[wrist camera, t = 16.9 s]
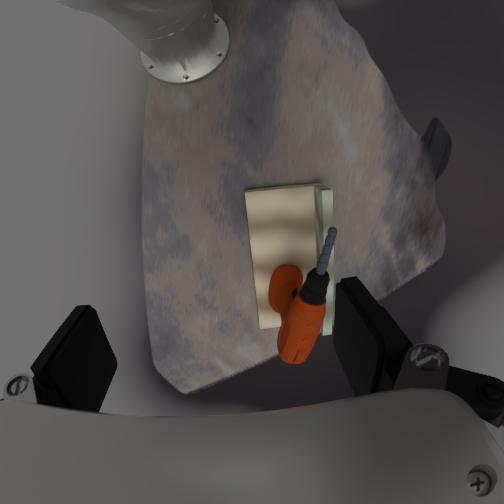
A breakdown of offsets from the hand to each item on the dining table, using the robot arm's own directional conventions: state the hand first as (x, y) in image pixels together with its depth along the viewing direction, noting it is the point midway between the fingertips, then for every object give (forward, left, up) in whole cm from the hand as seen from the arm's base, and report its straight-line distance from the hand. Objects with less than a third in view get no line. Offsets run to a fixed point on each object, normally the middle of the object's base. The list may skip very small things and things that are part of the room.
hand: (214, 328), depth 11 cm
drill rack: (+12, +8, -32) cm, 35 cm away
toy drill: (+11, +8, -31) cm, 33 cm away
